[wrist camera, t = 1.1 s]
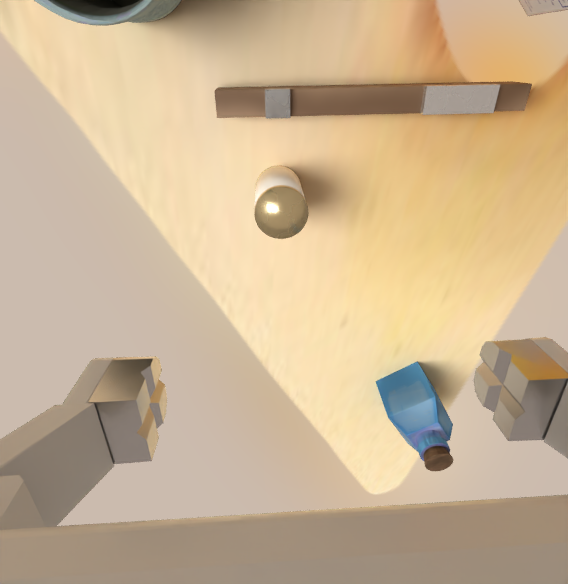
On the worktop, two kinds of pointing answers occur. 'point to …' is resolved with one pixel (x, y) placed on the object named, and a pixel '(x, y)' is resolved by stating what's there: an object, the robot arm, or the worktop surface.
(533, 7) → the medicine box
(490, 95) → the walnut fence
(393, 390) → the perfume bottle
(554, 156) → the worktop surface
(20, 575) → the robot arm
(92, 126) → the worktop surface
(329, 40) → the worktop surface
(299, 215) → the round canister
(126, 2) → the grey-green plant pot
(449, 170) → the worktop surface
